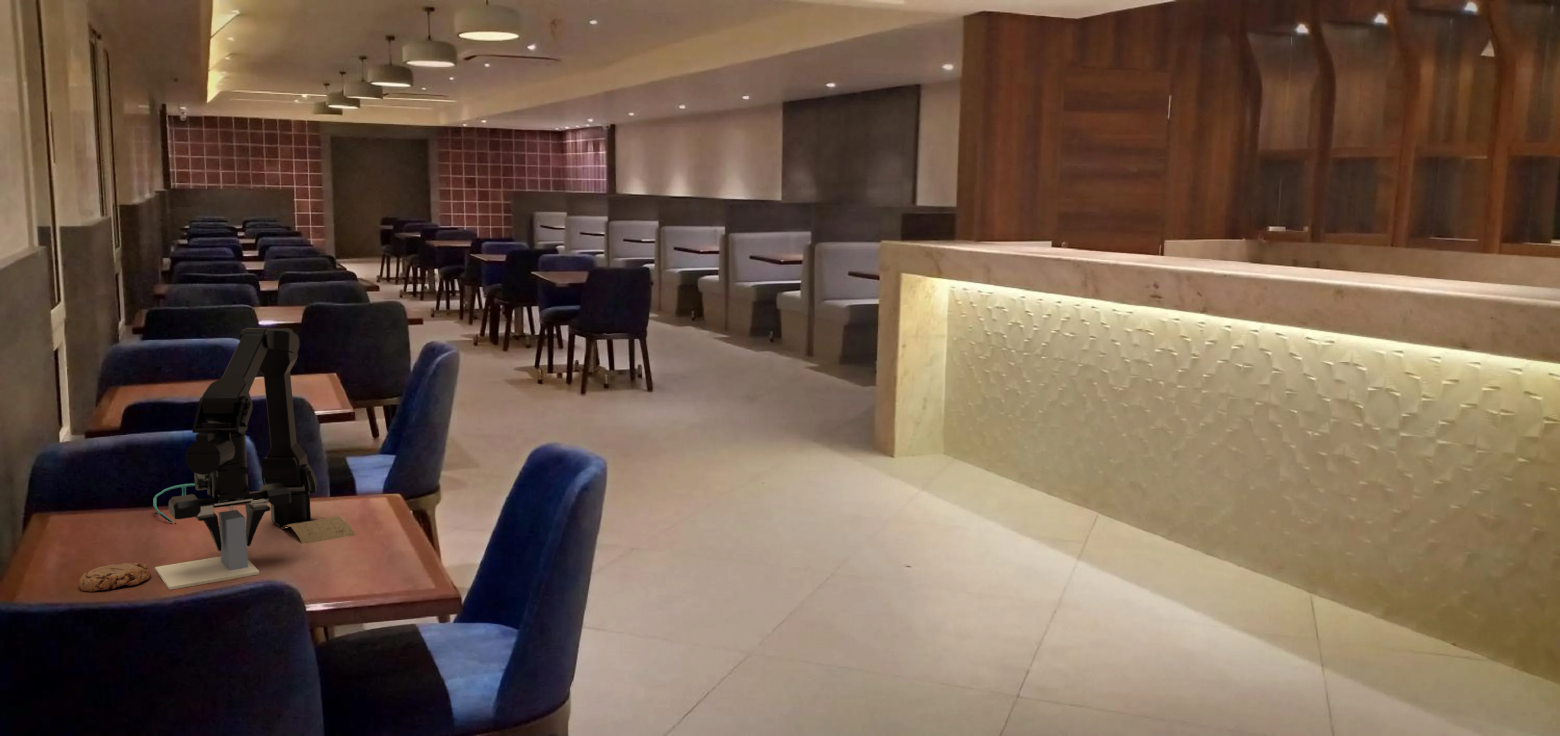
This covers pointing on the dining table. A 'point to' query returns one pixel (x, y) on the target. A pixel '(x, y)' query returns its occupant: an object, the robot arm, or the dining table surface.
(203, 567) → the placemat
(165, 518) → the sunglasses
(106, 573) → the cookie
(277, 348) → the robot arm
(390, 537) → the dining table surface
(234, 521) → the blue-grey block
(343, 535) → the clay tablet
